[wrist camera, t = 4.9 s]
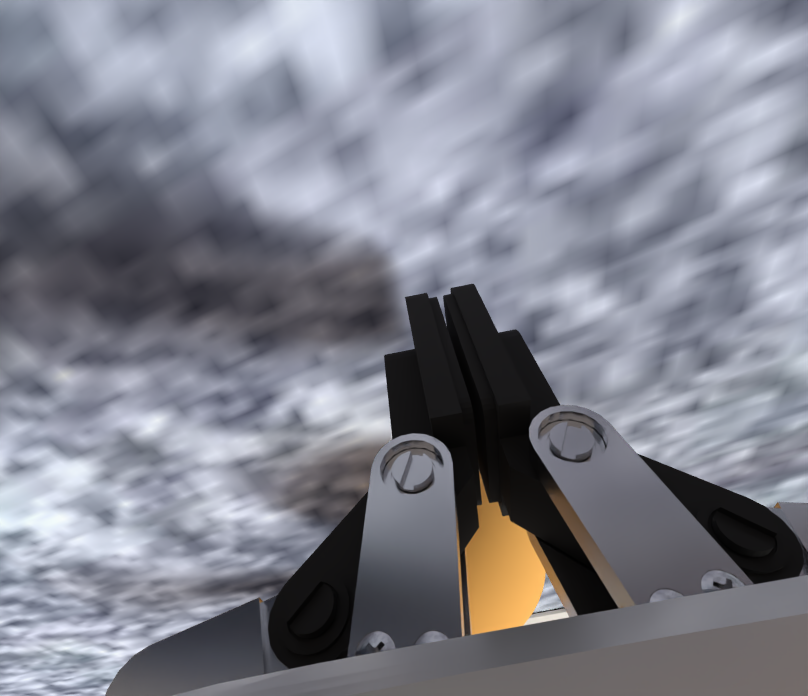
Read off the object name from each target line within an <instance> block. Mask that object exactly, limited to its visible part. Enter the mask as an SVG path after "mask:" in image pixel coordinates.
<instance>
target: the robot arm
mask: <svg viewBox="0 0 808 696" xmlns="http://www.w3.org/2000/svg"><path fill="white" fill-rule="evenodd" d="M405 299H406V304H407V310H408V315H409V320H410V325H411V331H412V336H413V341H414V346H415V349H413V350H407V351H402V352H397V353H392V354H387V355H384V360H385V370H386V380H387V390H388V399H389V409H390V419H391V429H392V439H393V440H391V441H389V442H388V443H387V444H386V445H384V446H383V447H382V448H381V449H380V451H379V452H378V453H377V455H376V456H375V458H374V461H373V464H372V468H371V475H370V483H369V490H368V492H367V493H366V494H365V496H364V497H363V498H362V499H361V500H360V501H359V502H358V503H357V505H356V506H355V507H354V508H353V509H352V510H351V511H350V512H349V513H348V515H347V516H346V517H345V518H344V519H343V520H342V521H341V522H340V524H339V525H338V526H337V527H336V528H335V529H334V530H333V531H332V532H331V534H330V535H329V536H328V537H327V538H326V539H325V540H324V541H323V543H322V544H321V545H320V546H319V547H318V548H317V549H316V550H315V551H314V553H313V554H312V555H311V556H310V557H309V558H308V559H307V560H306V562H305V563H304V564H303V565H302V566H301V567H300V568H299V569H298V570H297V572H296V573H295V574H294V575H293V576H292V577H291V578H290V579H289V581H288V582H287V583H286V584H285V586H284V587H283V588H282V590H281V591H280V593H279V594H278V595H277V596H274V597H272V598H270V599H268V600H265V601H262V600H261V599H260V598H257V599H254V600H252V601H250V602H248V603H245V604H243V605H241V606H239V607H236V608H234V609H232V610H229V611H227V612H225V613H223V614H220V615H218V616H216V617H213V618H211V619H209V620H207V621H204V622H202V623H200V624H197V625H195V626H193V627H191V628H188V629H186V630H184V631H182V632H179V633H177V634H175V635H172V636H170V637H168V638H166V639H163V640H161V641H159V642H156V643H154V644H152V645H150V646H148V647H146V648H145V649H143V650H142V651H140V652H138V653H137V654H135V655H134V656H133V657H132V658H131V659H130V660H129V661H128V662H127V663H126V664H125V665H124V666H123V667H122V668H121V669H120V670H119V672H118V673H117V675H116V677H115V678H114V680H113V681H112V683H111V685H110V686H109V688H108V689H107V692H106V695H105V696H808V503H789V502H777V504H776V505H775V507H774V508H767V507H765V506H763V505H761V504H759V503H757V502H755V501H753V500H751V499H749V498H747V497H744V496H742V495H739V494H737V493H734V492H732V491H729V490H727V489H724V488H722V487H719V486H717V485H714V484H712V483H709V482H707V481H704V480H702V479H699V478H697V477H694V476H692V475H689V474H687V473H684V472H682V471H679V470H677V469H674V468H672V467H669V466H667V465H664V464H662V463H659V462H657V461H654V460H652V459H649V458H647V457H644V456H642V455H639V454H637V453H636V452H635V451H634V450H633V449H632V447H631V446H630V445H629V444H628V443H627V442H626V441H625V440H624V439H623V437H622V436H621V435H620V434H619V433H618V432H617V431H616V430H615V429H614V427H613V426H612V425H611V424H610V423H609V422H608V421H607V420H605V419H604V418H603V417H602V416H601V415H599V414H597V413H595V412H593V411H591V410H589V409H586V408H583V407H579V406H573V405H560V404H559V402H558V400H557V398H556V397H555V395H554V393H553V391H552V389H551V388H550V386H549V384H548V382H547V381H546V379H545V377H544V375H543V373H542V372H541V370H540V368H539V366H538V365H537V363H536V361H535V359H534V358H533V356H532V354H531V352H530V350H529V349H528V347H527V345H526V343H525V342H524V340H523V338H522V336H521V334H520V333H519V332H518V331H517V330H510V331H505V332H500V333H498V332H497V330H496V328H495V326H494V324H493V321H492V319H491V317H490V315H489V313H488V311H487V309H486V307H485V305H484V303H483V301H482V299H481V297H480V295H479V293H478V291H477V289H476V287H475V285H474V284H469V285H464V286H459V287H454V288H451V294H449V295H444V296H443V299H444V308H445V316H446V323H445V320H444V317H443V314H442V311H441V308H440V305H439V302H438V299H437V297H434V298H428V294H427V293H424V294H418V295H413V296H408V297H405ZM446 324H447V326H446ZM479 471H480V474H481V478H482V481H483V485H484V488H485V491H486V495H487V498H488V501H489V503H494V502H498V504H499V507H500V510H501V513H502V516H508V515H509V518H510V521H511V522H513V523H515V524H516V525H518V526H520V527H522V528H523V529H525V530H526V532H527V535H528V537H529V540H530V542H531V544H532V546H533V548H534V550H535V552H536V554H537V556H538V558H539V560H540V562H541V564H542V566H543V567H544V569H545V571H546V573H547V575H548V577H549V579H550V581H551V583H552V585H553V587H554V589H555V591H556V593H557V594H558V596H559V598H560V600H561V602H562V604H563V606H564V608H565V610H566V612H567V614H568V616H569V617H568V618H563V619H557V620H552V621H546V622H540V623H535V624H529V625H524V626H518V627H513V628H507V629H502V630H496V631H491V632H485V633H480V634H474V635H472V627H471V613H470V598H469V584H468V570H467V556H466V546H467V545H468V543H469V542H470V540H471V539H472V537H473V536H474V534H475V533H476V531H477V530H478V528H479V519H478V510H477V506H478V505H482V498H481V486H480V475H479Z"/></svg>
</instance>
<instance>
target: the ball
mask: <svg viewBox="0 0 808 696" xmlns="http://www.w3.org/2000/svg"><path fill="white" fill-rule="evenodd" d="M479 475H480V486H481V498H482V505H478V506H477V510H478V519H479V528H478V530H477V531H476V533H475V534H474V536H473V537H472V539H471V540H470V542H469V543H468V545H467V546H466V556H467V570H468V584H469V598H470V613H471V627H472V635H474V634H480V633H485V632H491V631H496V630H502V629H507V628H513V627H518V626H523V625H524V624H525V623H526V621H527V620H528V619H529V617H530V616H531V615H532V613H533V611H534V609H535V608H536V606H537V604H538V602H539V599H540V596H541V593H542V590H543V586H544V581H545V572H546V571H545V569H544V567H543V566H542V564H541V562H540V560H539V558H538V556H537V554H536V552H535V550H534V548H533V546H532V544H531V542H530V540H529V537H528V535H527V532H526V530H525V529H523V528H522V527H520V526H518V525H516V524H515V523H513V522H511V521H510V518H509V515H508V516H502V513H501V510H500V507H499V504H498V502H494V503H489V501H488V498H487V495H486V491H485V488H484V485H483V481H482V478H481V474H480V471H479Z"/></svg>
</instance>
